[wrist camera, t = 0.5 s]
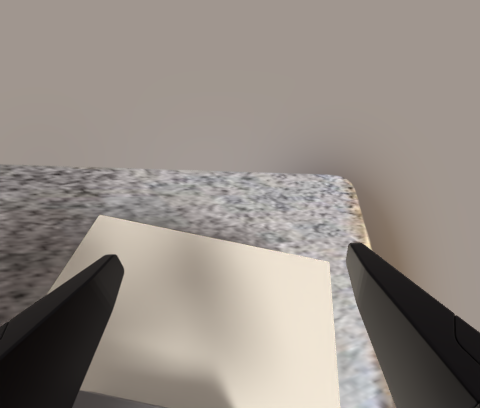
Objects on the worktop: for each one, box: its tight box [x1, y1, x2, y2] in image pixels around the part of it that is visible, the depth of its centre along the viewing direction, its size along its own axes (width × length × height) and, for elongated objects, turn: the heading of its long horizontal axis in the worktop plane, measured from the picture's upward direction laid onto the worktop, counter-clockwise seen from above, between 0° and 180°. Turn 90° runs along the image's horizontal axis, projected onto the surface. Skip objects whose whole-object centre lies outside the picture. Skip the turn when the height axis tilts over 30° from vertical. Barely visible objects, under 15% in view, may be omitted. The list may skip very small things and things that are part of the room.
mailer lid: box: [47, 215, 340, 408], centre depth 14 cm, size 15×19×3 cm
